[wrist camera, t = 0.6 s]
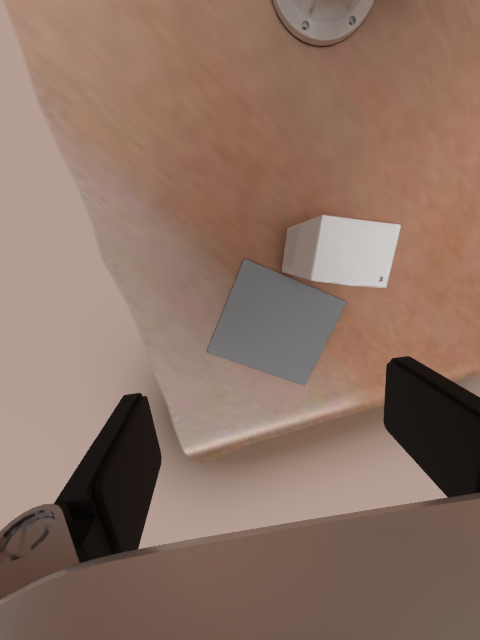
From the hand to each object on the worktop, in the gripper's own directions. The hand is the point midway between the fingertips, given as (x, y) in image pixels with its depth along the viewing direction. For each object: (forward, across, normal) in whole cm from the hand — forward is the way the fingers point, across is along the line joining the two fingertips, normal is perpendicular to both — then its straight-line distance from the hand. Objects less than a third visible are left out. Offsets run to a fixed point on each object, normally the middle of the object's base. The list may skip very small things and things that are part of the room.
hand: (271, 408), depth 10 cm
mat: (+29, -6, +7) cm, 30 cm away
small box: (+29, -12, -4) cm, 32 cm away
